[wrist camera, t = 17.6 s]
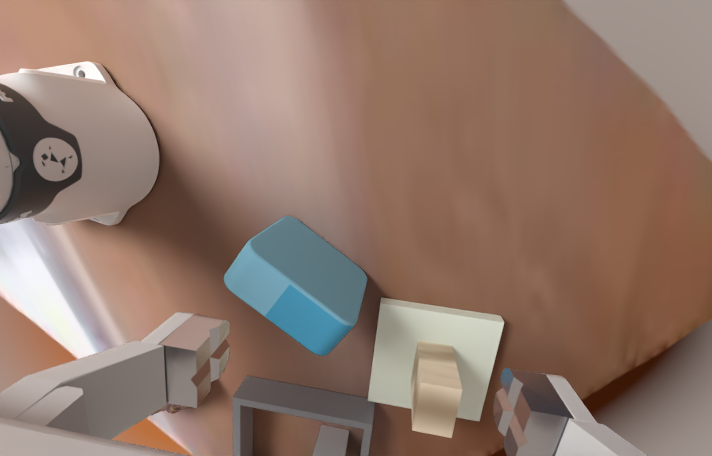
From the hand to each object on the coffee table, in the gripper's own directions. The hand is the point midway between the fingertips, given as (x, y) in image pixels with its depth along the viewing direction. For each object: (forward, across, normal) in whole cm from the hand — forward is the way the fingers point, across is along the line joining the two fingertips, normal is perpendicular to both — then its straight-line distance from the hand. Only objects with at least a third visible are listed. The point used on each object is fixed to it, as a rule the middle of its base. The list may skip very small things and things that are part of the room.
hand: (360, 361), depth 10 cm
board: (+28, -8, +19) cm, 35 cm away
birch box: (+26, -8, +19) cm, 33 cm away
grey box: (+28, +2, +35) cm, 45 cm away
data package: (+28, +7, +8) cm, 30 cm away
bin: (+28, +6, +36) cm, 46 cm away
